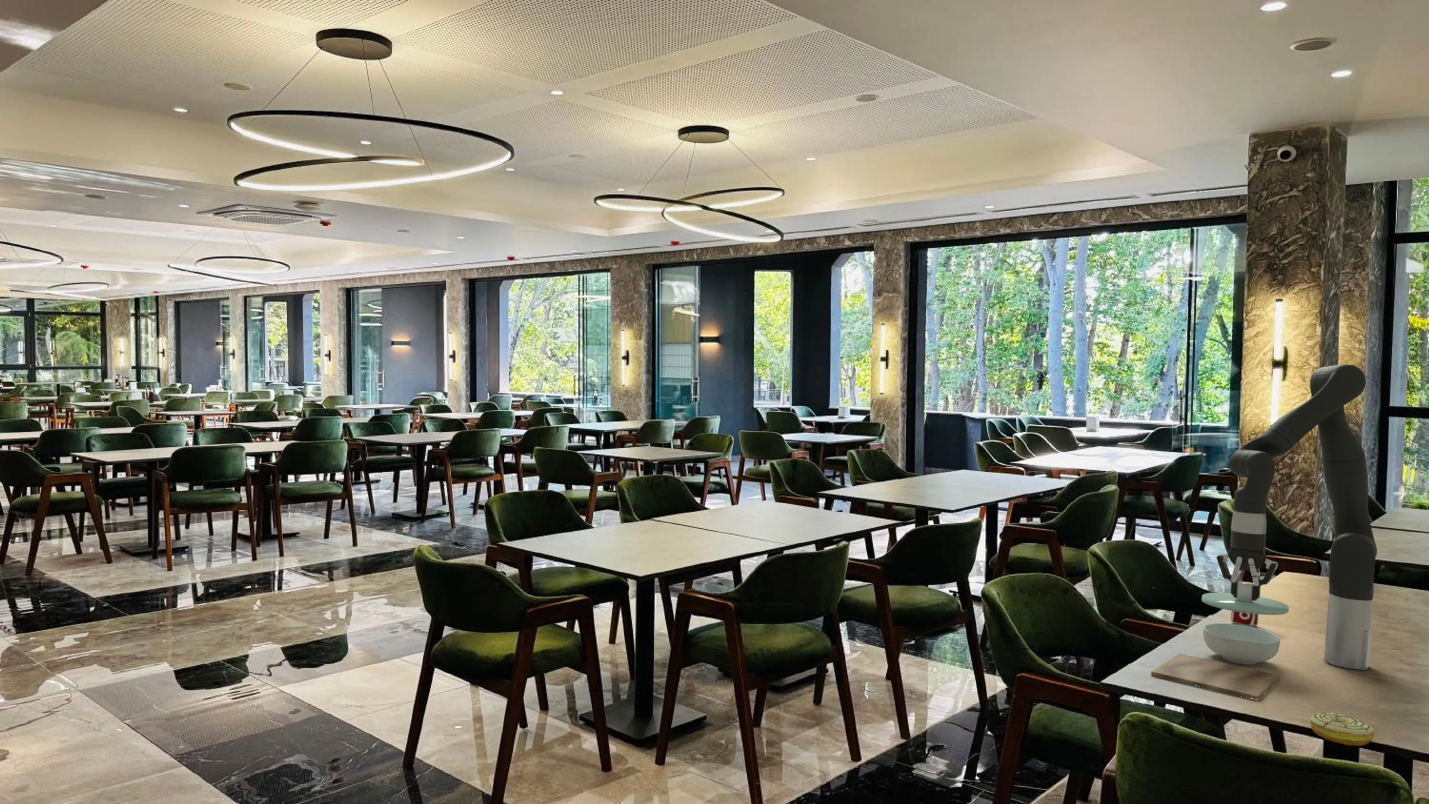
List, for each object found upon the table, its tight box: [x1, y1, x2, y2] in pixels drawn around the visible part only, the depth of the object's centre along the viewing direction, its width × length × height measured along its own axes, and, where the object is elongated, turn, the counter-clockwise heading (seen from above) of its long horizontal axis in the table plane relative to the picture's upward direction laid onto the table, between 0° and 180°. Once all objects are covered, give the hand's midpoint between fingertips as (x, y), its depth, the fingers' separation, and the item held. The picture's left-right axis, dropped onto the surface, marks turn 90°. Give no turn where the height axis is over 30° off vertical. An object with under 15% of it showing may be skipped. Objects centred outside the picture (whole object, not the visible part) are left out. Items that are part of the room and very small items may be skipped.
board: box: [1150, 652, 1280, 701], centre depth 224 cm, size 22×22×1 cm
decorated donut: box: [1310, 712, 1375, 747], centre depth 189 cm, size 10×11×4 cm
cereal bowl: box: [1202, 622, 1281, 665], centre depth 240 cm, size 17×17×7 cm
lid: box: [1201, 581, 1290, 616], centre depth 239 cm, size 19×19×6 cm
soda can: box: [1230, 581, 1259, 627], centre depth 276 cm, size 7×7×12 cm
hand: (1244, 598), depth 239 cm, fingers closed on lid, 3 cm apart
